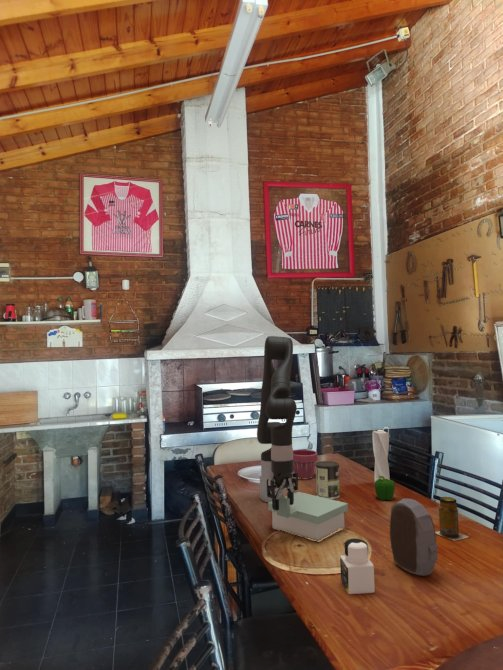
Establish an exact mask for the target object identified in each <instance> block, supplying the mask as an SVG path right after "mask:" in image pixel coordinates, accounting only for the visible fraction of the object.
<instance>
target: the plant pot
mask: <svg viewBox="0 0 503 670" xmlns="http://www.w3.org/2000/svg"><path fill="white" fill-rule="evenodd" d="M317 461H318V452H317V451H316V450H311V449H293V468H294V470H293V472H295V473H298V477H299V478H310V477H313V478H314V473H315V470H316V465H315V463H317Z"/></svg>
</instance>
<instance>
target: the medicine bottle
mask: <svg viewBox="0 0 503 670" xmlns="http://www.w3.org/2000/svg"><path fill="white" fill-rule="evenodd" d="M368 545H369V544H368V542H367V541H365V540H363V539H360V538H350V539H346V540H345V542H344V554H343V555H340V556H339V558H340V559H339V561H340V563H339V564H340V567H339V568H340V582H341V584H342V586H343V587H344V589H345V591H346V593H347V594H348V595H361V594H374V593H375V565H374V564H373V563H372V560H371V559H369V552H368V551H369V550H368V548H369V547H368Z"/></svg>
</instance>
